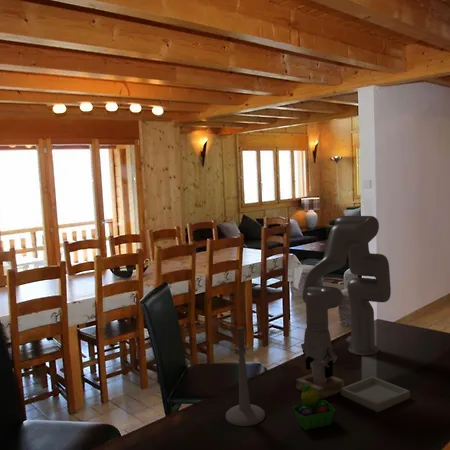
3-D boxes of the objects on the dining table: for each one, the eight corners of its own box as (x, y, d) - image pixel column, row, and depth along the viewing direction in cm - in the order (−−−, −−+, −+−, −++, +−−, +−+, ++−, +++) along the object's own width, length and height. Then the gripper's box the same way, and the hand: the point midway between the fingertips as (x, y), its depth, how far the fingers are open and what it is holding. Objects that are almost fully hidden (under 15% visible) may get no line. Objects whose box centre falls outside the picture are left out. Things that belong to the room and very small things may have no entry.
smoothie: (308, 391, 176) (307, 353, 174) (314, 384, 181) (312, 347, 180) (326, 394, 173) (324, 355, 171) (331, 387, 178) (330, 349, 177)
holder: (296, 388, 179) (296, 379, 178) (321, 379, 185) (320, 370, 185) (319, 400, 169) (319, 390, 168) (344, 390, 175) (344, 380, 175)
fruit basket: (302, 433, 148) (300, 397, 147) (290, 419, 157) (289, 385, 156) (336, 426, 151) (335, 390, 150) (323, 413, 160) (322, 379, 158)
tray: (340, 395, 171) (340, 388, 171) (372, 382, 180) (372, 376, 179) (377, 412, 158) (377, 405, 157) (409, 397, 166) (409, 390, 166)
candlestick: (262, 426, 153) (257, 332, 150) (222, 425, 156) (216, 332, 153) (267, 407, 166) (262, 320, 163) (229, 406, 168) (224, 320, 165)
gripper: (293, 322, 180) (295, 368, 181) (327, 333, 165) (328, 383, 167) (308, 318, 184) (310, 363, 185) (343, 329, 169) (344, 377, 171)
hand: (319, 372), depth 176 cm, fingers open, 9 cm apart
